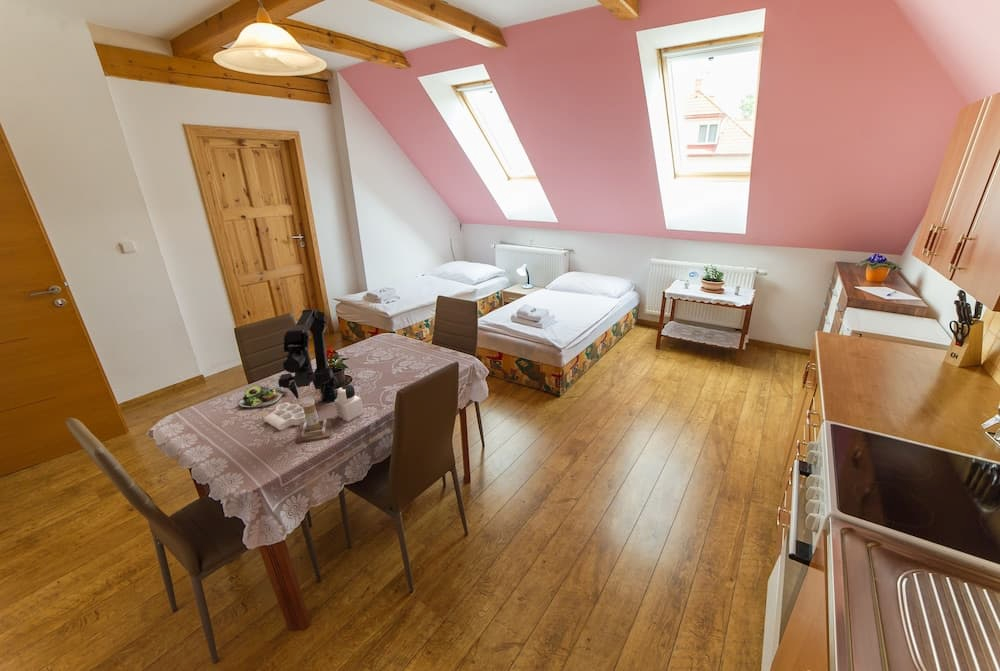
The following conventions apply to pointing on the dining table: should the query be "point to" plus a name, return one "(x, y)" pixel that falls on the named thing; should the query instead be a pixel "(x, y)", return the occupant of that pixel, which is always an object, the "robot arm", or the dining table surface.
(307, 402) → the sprinkles bottle
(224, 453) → the dining table surface
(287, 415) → the white compartment tray
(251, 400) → the salad plate
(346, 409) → the container
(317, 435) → the brown flat square frame
